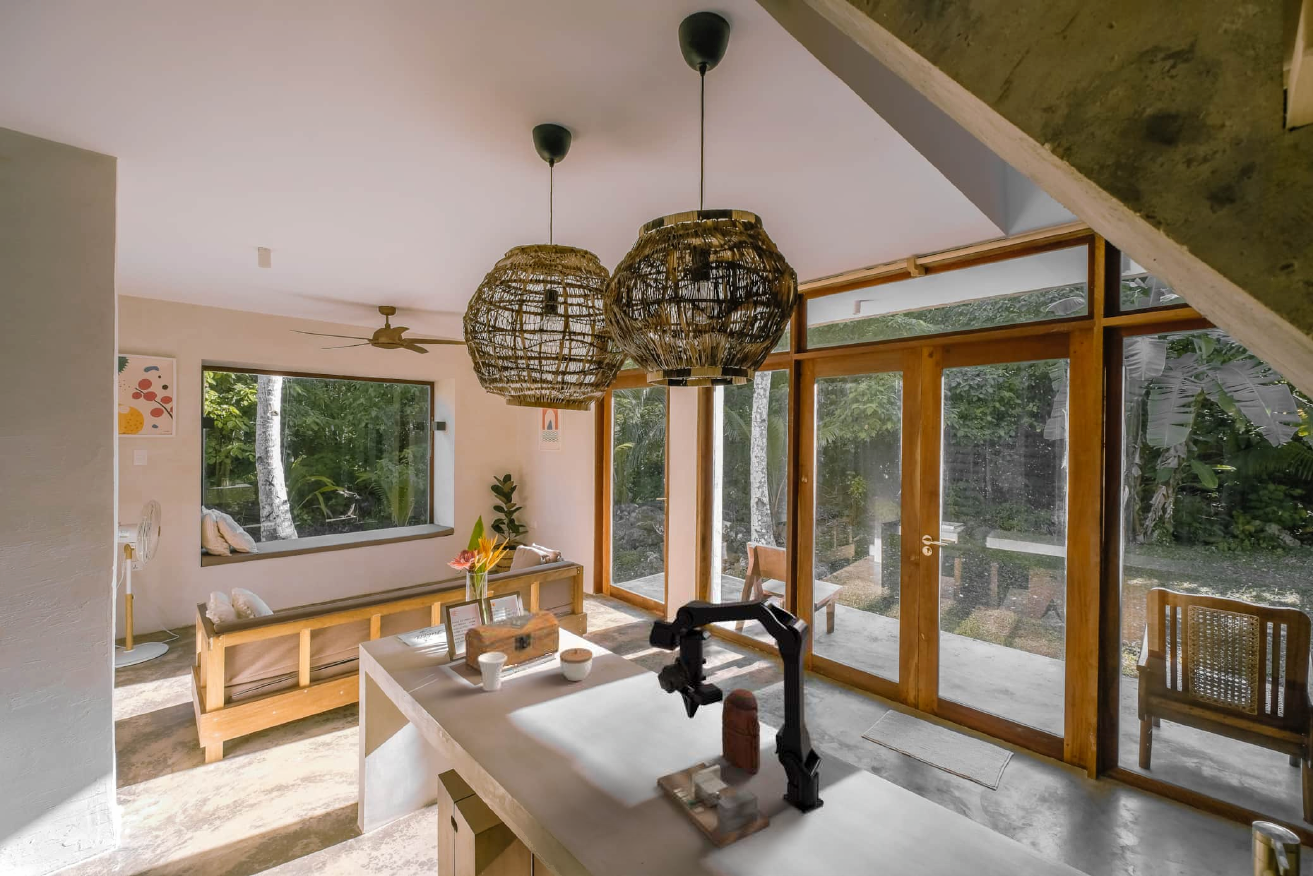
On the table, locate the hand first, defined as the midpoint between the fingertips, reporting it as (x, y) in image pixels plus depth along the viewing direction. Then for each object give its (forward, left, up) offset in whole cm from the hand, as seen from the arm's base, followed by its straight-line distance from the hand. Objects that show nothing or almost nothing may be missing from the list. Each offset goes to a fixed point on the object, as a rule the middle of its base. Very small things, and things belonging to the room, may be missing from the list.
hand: (690, 717), depth 145 cm
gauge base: (+4, +15, -12) cm, 19 cm away
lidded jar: (+4, -62, -12) cm, 63 cm away
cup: (+30, -68, -12) cm, 75 cm away
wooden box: (+17, -89, -12) cm, 91 cm away
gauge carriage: (+6, +17, -10) cm, 21 cm away
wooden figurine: (-12, +5, -12) cm, 18 cm away
